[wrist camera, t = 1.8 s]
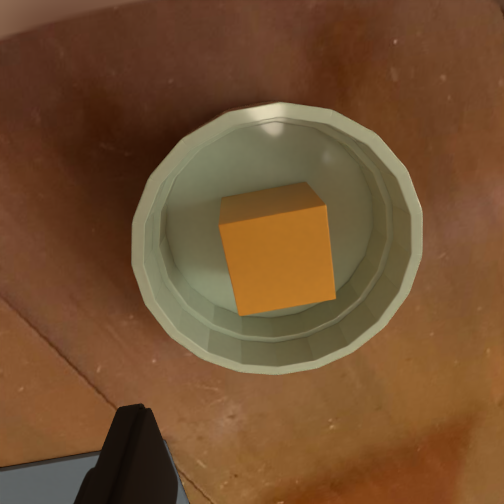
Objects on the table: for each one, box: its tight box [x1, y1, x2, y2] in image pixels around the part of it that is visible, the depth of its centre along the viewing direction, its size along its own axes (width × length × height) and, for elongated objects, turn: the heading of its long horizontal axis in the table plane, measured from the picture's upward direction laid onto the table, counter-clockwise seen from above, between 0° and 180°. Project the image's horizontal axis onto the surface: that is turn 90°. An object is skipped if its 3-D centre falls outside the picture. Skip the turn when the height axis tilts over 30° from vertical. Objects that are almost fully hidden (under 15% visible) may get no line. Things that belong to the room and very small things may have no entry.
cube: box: [218, 182, 336, 316], centre depth 20 cm, size 5×5×5 cm
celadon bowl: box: [131, 101, 423, 375], centre depth 20 cm, size 14×14×5 cm
